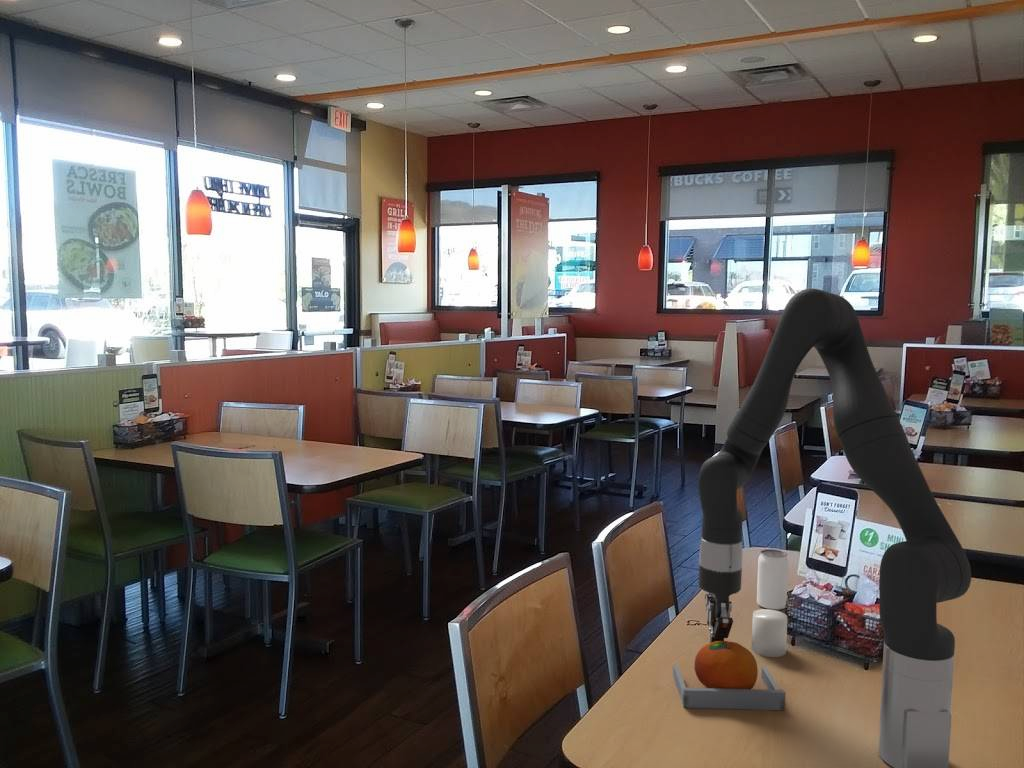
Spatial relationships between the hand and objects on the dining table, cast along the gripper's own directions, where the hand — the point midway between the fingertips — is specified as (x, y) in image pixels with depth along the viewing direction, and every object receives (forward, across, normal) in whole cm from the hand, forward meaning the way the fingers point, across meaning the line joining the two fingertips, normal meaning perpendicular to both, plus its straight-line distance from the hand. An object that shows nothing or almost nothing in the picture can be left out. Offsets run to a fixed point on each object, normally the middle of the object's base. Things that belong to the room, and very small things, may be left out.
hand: (716, 654), depth 150 cm
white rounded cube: (+3, +10, -12) cm, 16 cm away
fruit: (+3, -7, 0) cm, 8 cm away
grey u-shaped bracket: (+3, -8, 0) cm, 8 cm away
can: (+4, +34, -19) cm, 39 cm away
